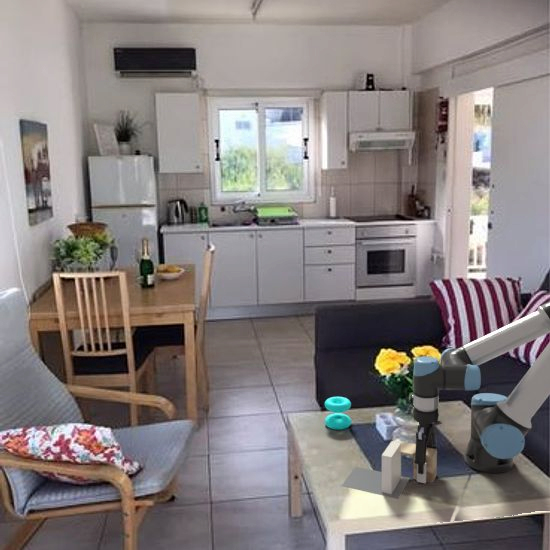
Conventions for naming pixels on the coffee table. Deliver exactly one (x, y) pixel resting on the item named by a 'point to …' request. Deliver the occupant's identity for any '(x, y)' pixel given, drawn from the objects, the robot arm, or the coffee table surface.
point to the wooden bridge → (430, 460)
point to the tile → (391, 467)
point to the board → (372, 482)
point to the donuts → (338, 413)
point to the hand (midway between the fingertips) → (424, 475)
